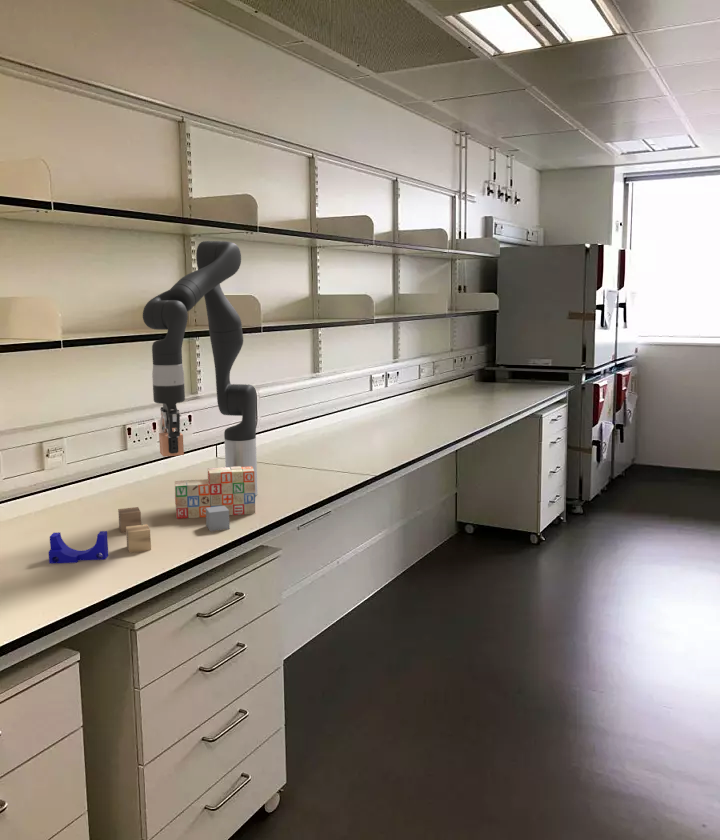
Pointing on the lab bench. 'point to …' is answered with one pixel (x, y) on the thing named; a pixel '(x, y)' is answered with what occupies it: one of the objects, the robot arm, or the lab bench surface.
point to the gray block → (217, 518)
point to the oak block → (138, 538)
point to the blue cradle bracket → (69, 555)
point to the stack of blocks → (217, 492)
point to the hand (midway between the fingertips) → (171, 450)
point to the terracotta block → (165, 445)
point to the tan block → (129, 518)
